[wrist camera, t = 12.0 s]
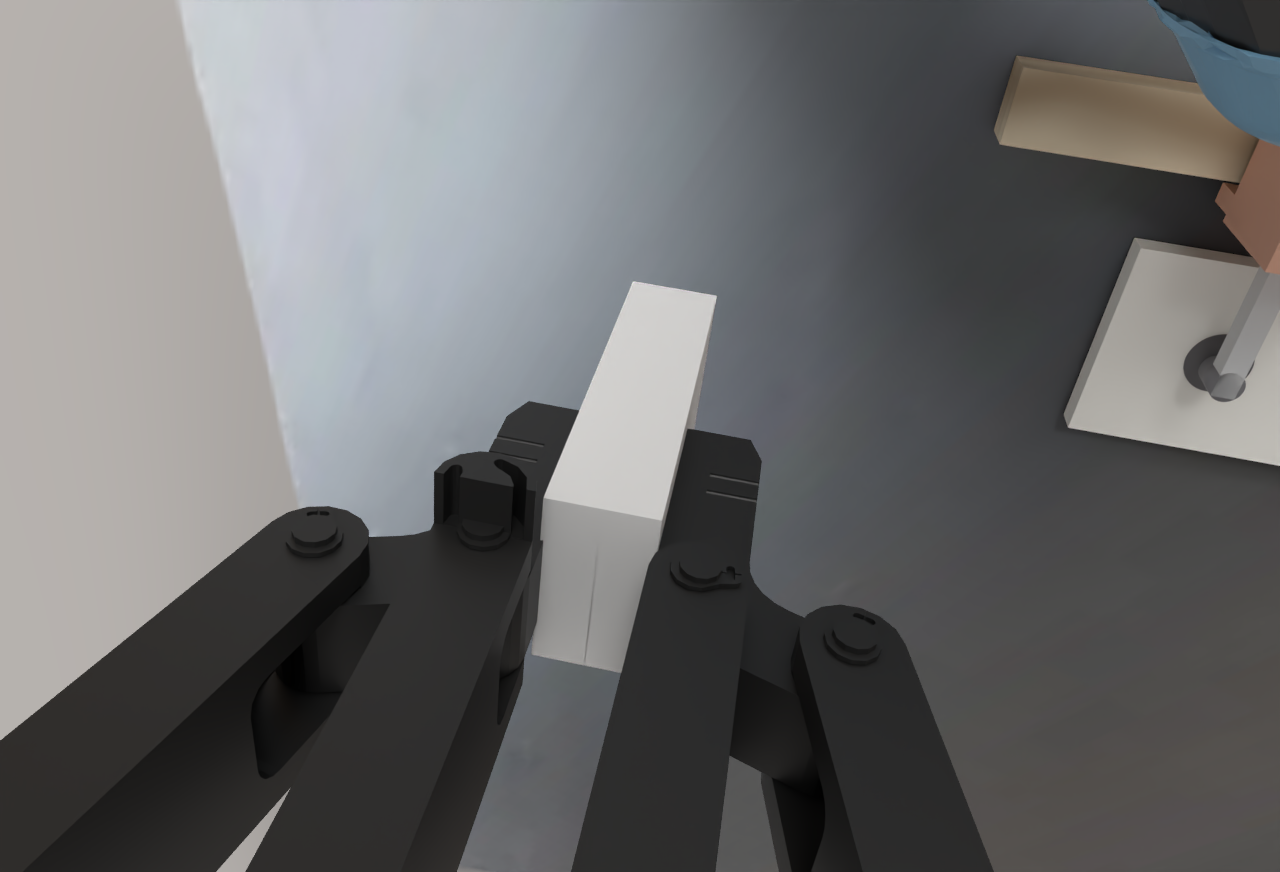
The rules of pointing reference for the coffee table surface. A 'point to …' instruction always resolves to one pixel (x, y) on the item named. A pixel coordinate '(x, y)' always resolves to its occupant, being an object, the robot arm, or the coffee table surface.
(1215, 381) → the sliding leg
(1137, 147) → the rail
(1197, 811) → the coffee table surface
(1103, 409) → the hole plate
